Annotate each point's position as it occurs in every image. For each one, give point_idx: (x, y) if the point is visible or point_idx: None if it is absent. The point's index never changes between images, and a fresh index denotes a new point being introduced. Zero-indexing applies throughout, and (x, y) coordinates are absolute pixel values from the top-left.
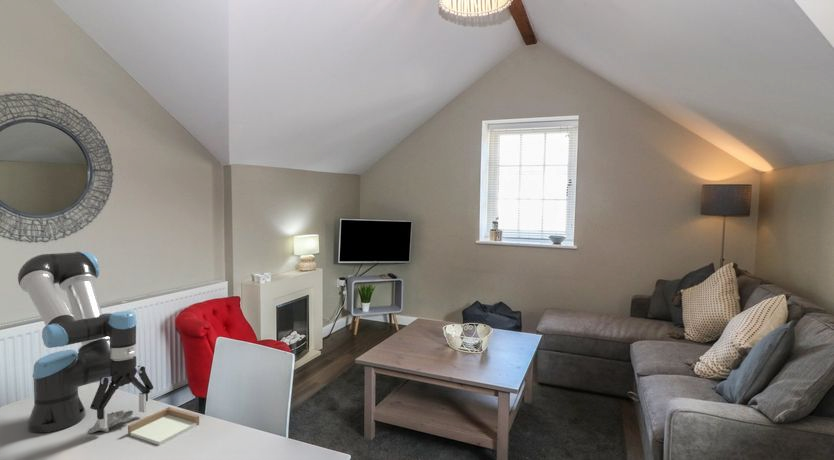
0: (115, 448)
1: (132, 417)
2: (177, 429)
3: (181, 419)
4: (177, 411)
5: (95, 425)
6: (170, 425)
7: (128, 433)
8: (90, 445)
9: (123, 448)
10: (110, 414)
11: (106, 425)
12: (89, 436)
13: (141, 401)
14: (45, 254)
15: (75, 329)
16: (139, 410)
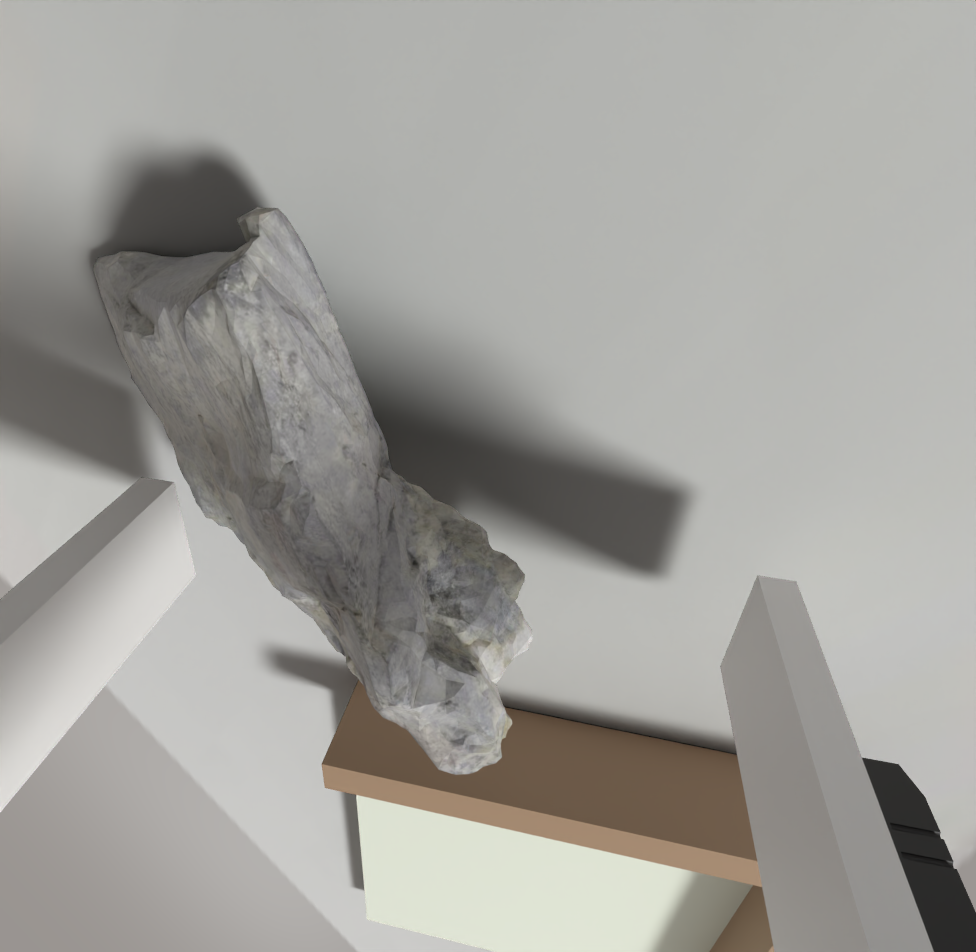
0: (186, 721)
1: (524, 650)
2: (545, 947)
3: (709, 927)
4: None
5: (130, 350)
6: (583, 901)
7: (354, 692)
8: (60, 527)
9: (222, 761)
10: (271, 521)
11: (162, 601)
12: (101, 353)
13: (779, 796)
14: None
15: None
16: (757, 598)
